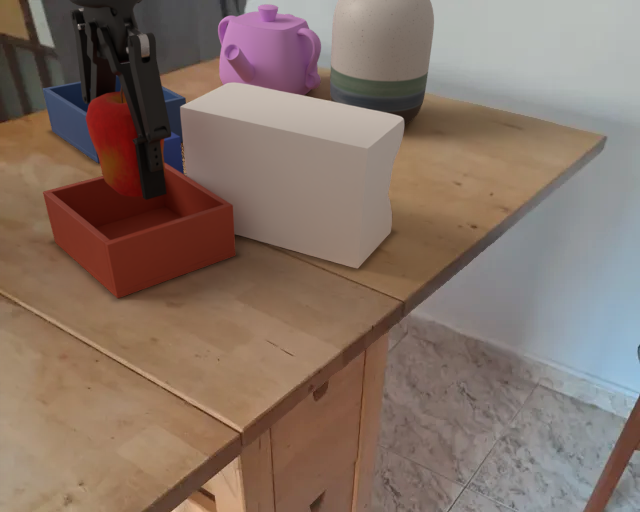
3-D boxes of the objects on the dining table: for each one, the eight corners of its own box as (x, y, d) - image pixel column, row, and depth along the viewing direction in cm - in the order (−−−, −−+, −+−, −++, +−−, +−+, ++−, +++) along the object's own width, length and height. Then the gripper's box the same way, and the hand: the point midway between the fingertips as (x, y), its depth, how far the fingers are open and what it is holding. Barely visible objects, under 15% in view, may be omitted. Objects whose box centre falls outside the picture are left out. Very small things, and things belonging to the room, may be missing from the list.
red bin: (55, 242, 88) (42, 191, 84) (167, 208, 96) (161, 160, 92) (117, 298, 79) (107, 245, 75) (235, 255, 87) (233, 204, 83)
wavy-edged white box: (409, 212, 98) (423, 102, 88) (357, 269, 86) (367, 149, 76) (257, 174, 106) (255, 69, 95) (190, 221, 94) (179, 106, 83)
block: (138, 181, 102) (131, 133, 98) (167, 173, 105) (162, 126, 100) (155, 193, 100) (149, 144, 95) (185, 184, 102) (180, 136, 97)
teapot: (306, 73, 144) (308, -7, 134) (329, 106, 129) (332, 20, 119) (215, 75, 141) (210, -6, 131) (227, 110, 126) (222, 22, 116)
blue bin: (52, 131, 116) (42, 88, 111) (139, 112, 124) (134, 71, 119) (98, 163, 107) (89, 118, 102) (189, 140, 115) (185, 97, 110)
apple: (165, 171, 86) (153, 69, 78) (179, 199, 81) (167, 92, 73) (95, 178, 84) (75, 74, 76) (104, 208, 78) (83, 98, 70)
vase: (310, 113, 126) (314, -43, 110) (383, 99, 134) (397, -50, 117) (364, 143, 116) (378, -23, 100) (440, 127, 124) (464, -31, 107)
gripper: (192, -31, 62) (211, 205, 78) (85, -65, 74) (120, 147, 89) (117, -23, 59) (153, 224, 74) (17, -60, 70) (66, 160, 86)
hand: (135, 182), depth 82 cm, fingers closed on apple, 8 cm apart
